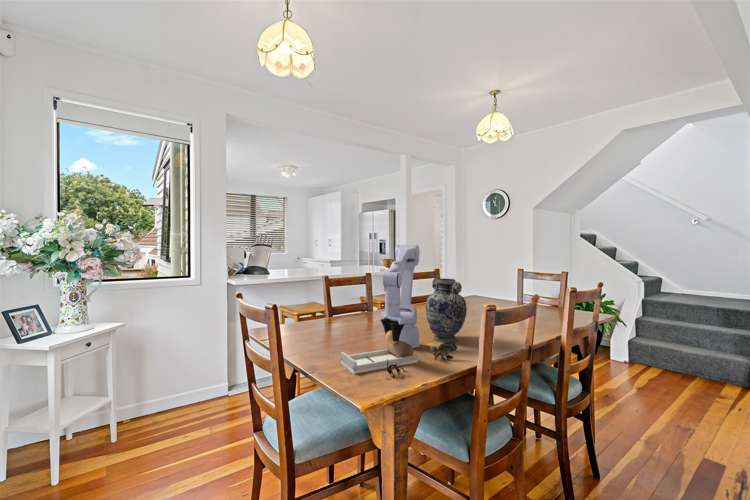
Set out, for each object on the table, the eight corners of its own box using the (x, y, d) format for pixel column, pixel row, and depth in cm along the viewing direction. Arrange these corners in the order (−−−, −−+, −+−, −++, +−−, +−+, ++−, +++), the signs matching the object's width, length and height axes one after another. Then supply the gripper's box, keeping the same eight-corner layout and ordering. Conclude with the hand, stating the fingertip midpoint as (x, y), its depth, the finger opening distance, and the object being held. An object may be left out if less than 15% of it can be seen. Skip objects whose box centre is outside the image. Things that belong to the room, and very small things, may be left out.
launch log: (400, 351, 142) (400, 337, 142) (413, 359, 133) (413, 343, 133) (387, 354, 139) (387, 338, 139) (399, 361, 131) (399, 345, 131)
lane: (400, 353, 144) (401, 343, 143) (417, 362, 133) (417, 351, 133) (341, 363, 132) (341, 352, 132) (353, 373, 121) (353, 362, 121)
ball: (394, 341, 138) (394, 328, 138) (401, 344, 134) (401, 331, 133) (383, 342, 136) (383, 329, 136) (389, 346, 131) (389, 332, 131)
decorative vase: (415, 335, 170) (417, 277, 169) (447, 332, 178) (449, 276, 177) (442, 348, 150) (443, 282, 150) (476, 343, 158) (478, 281, 157)
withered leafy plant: (445, 361, 131) (461, 352, 136) (435, 343, 133) (452, 335, 138) (434, 367, 136) (450, 358, 141) (425, 349, 139) (441, 341, 144)
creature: (405, 374, 124) (383, 370, 123) (409, 359, 124) (386, 355, 123) (409, 383, 116) (385, 378, 116) (413, 367, 116) (389, 362, 116)
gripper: (374, 301, 139) (374, 335, 139) (392, 307, 126) (392, 345, 126) (390, 300, 142) (389, 333, 142) (409, 306, 129) (409, 343, 130)
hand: (392, 339), depth 135 cm, fingers closed on ball, 5 cm apart
